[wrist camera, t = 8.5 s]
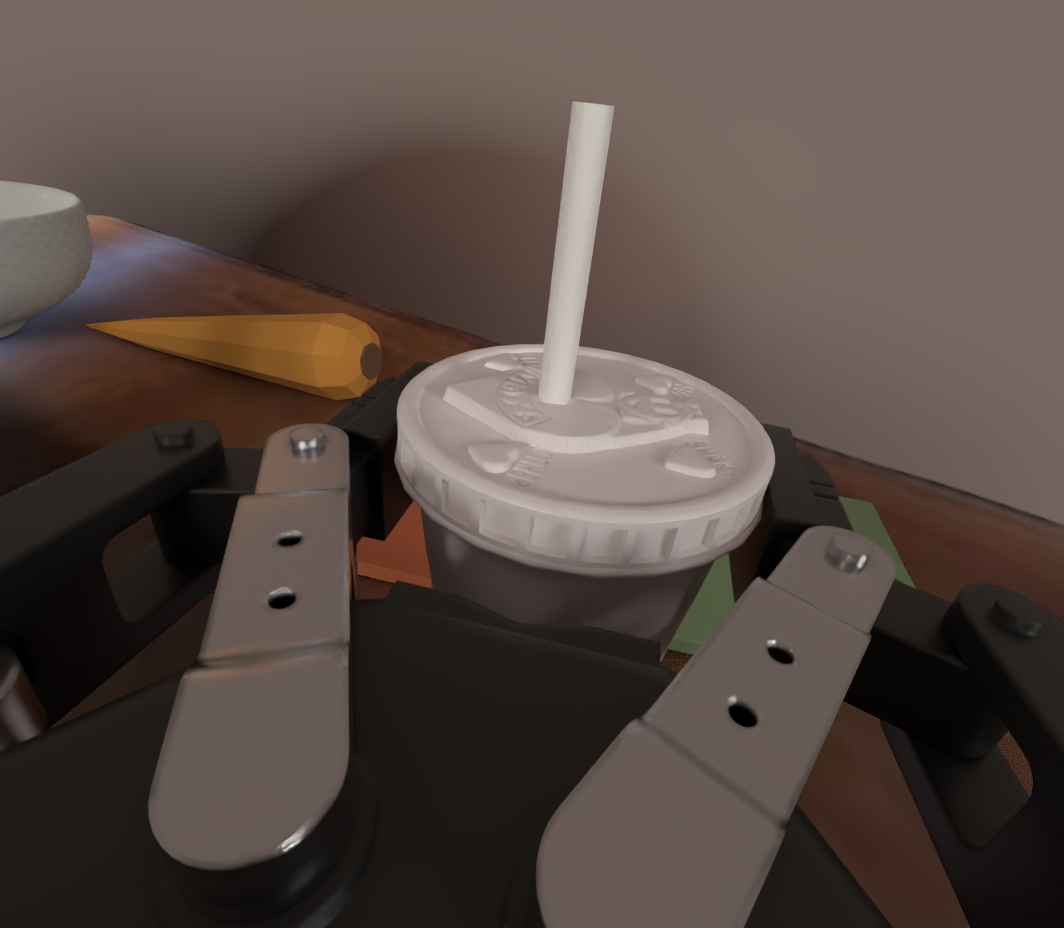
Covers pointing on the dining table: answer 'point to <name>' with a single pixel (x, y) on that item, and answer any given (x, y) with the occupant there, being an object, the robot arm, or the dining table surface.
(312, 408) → the dining table surface
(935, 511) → the dining table surface
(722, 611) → the green mat
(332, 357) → the carrot
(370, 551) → the terracotta mat
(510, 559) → the smoothie
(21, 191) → the cereal bowl
